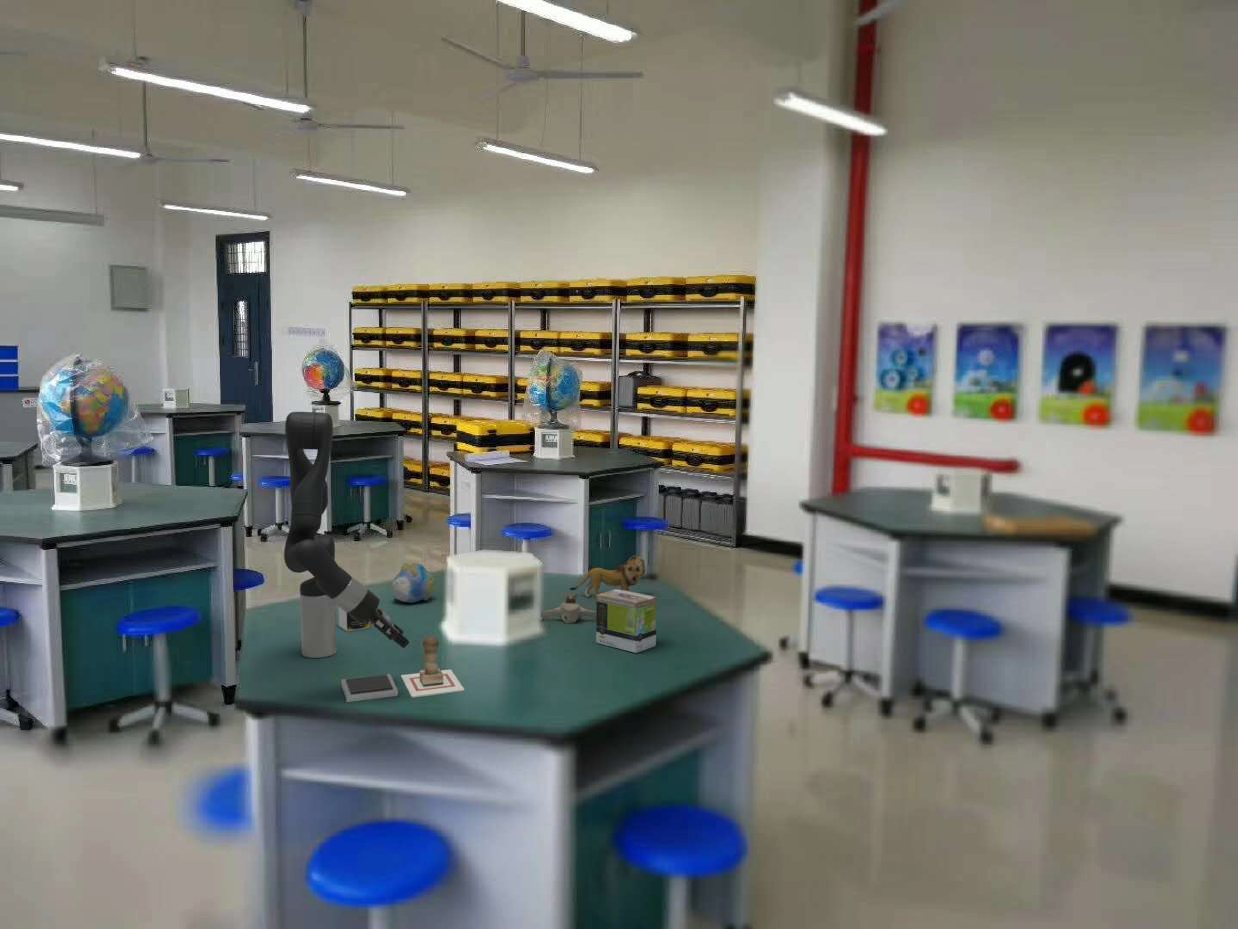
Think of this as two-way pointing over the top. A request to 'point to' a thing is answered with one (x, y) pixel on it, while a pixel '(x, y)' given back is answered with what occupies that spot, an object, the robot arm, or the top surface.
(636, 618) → the tea box
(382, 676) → the ink pad
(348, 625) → the medicine bottle
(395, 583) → the decorative rock
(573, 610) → the vertebra
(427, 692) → the card
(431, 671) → the stamp
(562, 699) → the top surface
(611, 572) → the animal model
